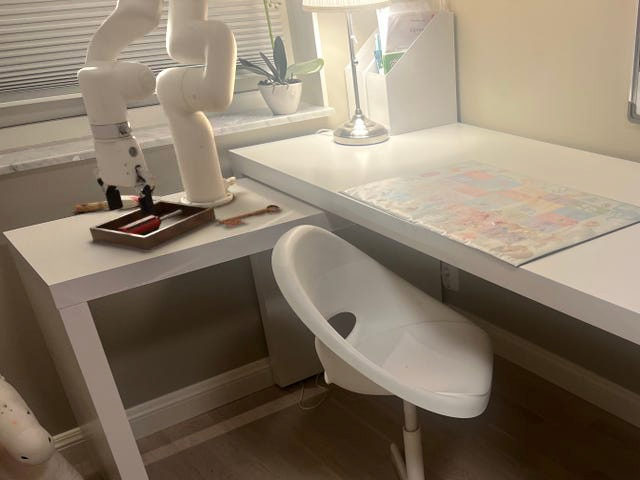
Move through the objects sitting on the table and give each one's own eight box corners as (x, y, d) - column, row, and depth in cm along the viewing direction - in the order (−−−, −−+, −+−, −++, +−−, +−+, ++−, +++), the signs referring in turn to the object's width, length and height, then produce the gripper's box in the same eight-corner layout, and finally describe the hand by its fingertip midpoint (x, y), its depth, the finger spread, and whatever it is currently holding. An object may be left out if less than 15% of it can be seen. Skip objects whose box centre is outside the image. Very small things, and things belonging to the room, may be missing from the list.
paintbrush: (158, 194, 180) (72, 205, 177) (161, 205, 181) (76, 216, 178) (160, 189, 183) (76, 200, 180) (164, 200, 184) (80, 211, 181)
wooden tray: (164, 212, 177) (160, 199, 175) (216, 220, 171) (213, 207, 169) (93, 241, 161) (89, 227, 159) (148, 251, 155) (144, 237, 153)
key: (227, 229, 166) (286, 213, 174) (226, 226, 165) (286, 210, 174) (216, 221, 170) (275, 206, 178) (215, 217, 169) (274, 202, 177)
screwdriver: (178, 218, 173) (173, 204, 171) (188, 217, 171) (183, 204, 170) (120, 242, 160) (115, 228, 158) (130, 242, 158) (125, 228, 157)
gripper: (156, 130, 150) (175, 211, 159) (97, 125, 157) (118, 202, 165) (127, 137, 144) (148, 221, 153) (67, 131, 151) (90, 212, 159)
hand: (132, 211), depth 159 cm, fingers open, 9 cm apart
